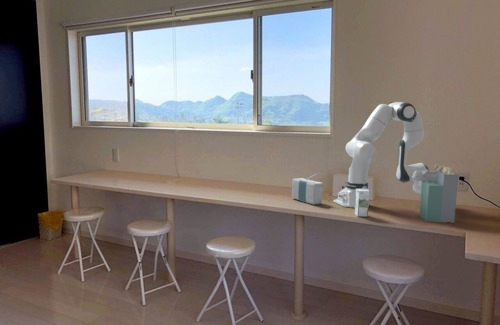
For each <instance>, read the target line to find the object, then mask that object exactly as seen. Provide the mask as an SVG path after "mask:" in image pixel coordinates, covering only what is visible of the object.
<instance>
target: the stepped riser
mask: <svg viewBox="0 0 500 325" xmlns="http://www.w3.org/2000/svg"><path fill="white" fill-rule="evenodd" d="M435 172H436V183H435V182H422V190H421V194H420V204H419V205H420V206H419V218H421V219H422V220H423V221H424V222H426V221H430V222H429V223H447V222H450V223H451V224H452V223H453V224H454V223H455V216H456V207H457V206H456V205H457V192H458V183H459V174H457V173H454V175H449V174H446V173H443V172H441V171H438V170H435Z"/></svg>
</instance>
